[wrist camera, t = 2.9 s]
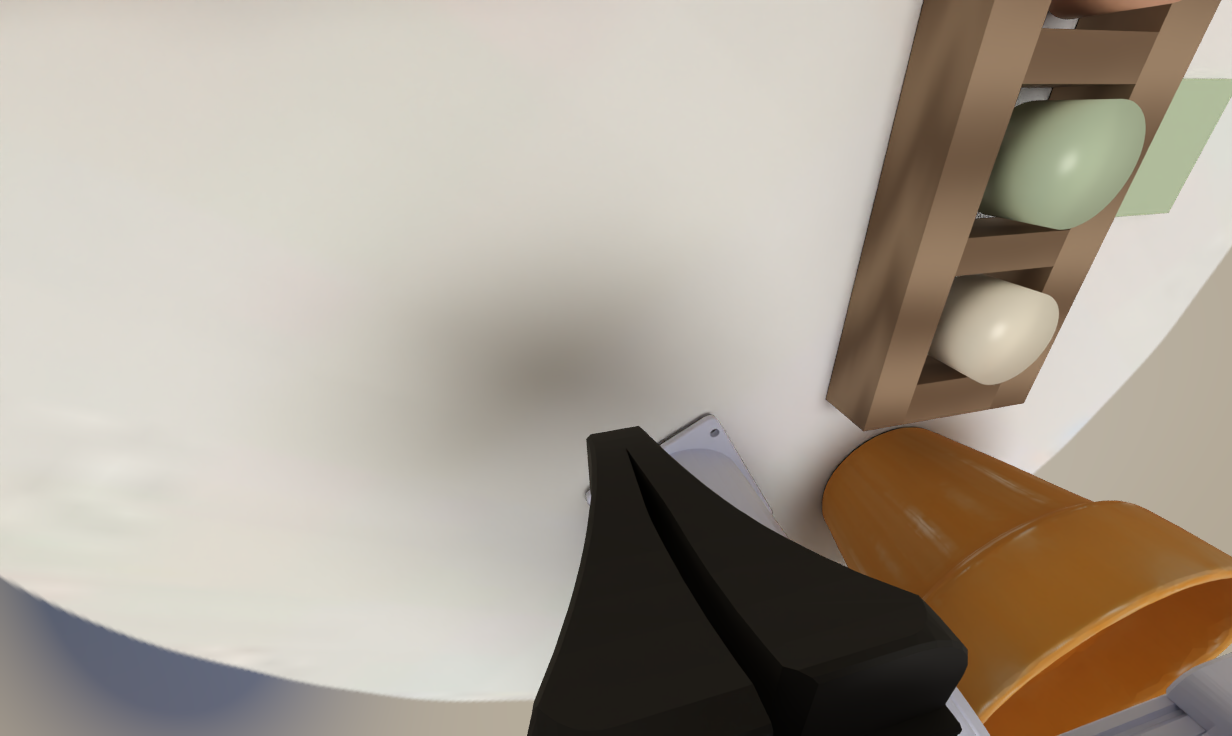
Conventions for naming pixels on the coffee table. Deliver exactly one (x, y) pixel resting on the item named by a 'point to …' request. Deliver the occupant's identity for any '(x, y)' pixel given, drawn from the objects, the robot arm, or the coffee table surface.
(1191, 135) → the colour card
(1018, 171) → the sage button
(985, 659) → the flower pot
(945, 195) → the wooden compartment tray
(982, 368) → the cream button
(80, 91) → the coffee table surface
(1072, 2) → the terracotta button
